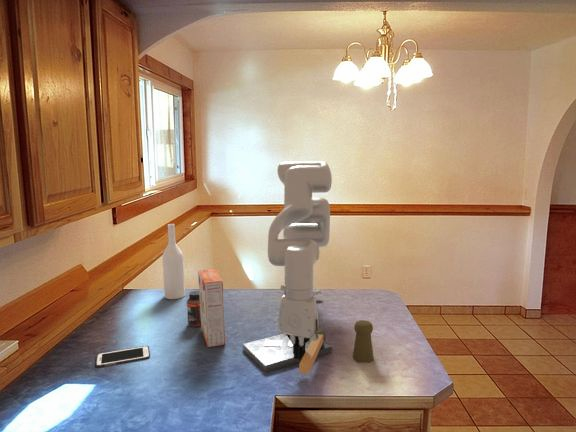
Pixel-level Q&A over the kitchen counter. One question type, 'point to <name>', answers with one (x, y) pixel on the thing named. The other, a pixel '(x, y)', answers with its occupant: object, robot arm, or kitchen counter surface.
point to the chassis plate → (277, 352)
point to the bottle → (173, 268)
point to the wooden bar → (312, 352)
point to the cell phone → (122, 356)
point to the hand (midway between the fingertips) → (299, 356)
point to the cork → (363, 342)
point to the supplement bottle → (194, 309)
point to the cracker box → (211, 307)
